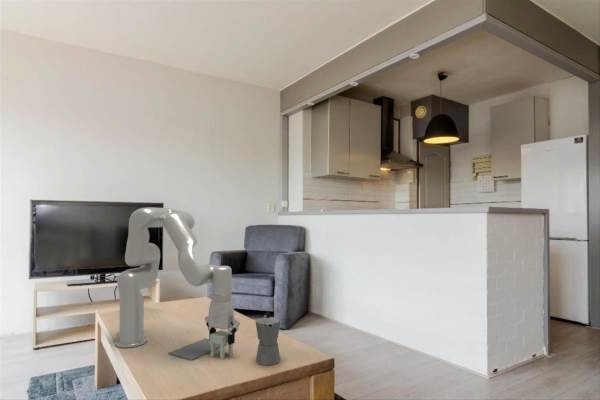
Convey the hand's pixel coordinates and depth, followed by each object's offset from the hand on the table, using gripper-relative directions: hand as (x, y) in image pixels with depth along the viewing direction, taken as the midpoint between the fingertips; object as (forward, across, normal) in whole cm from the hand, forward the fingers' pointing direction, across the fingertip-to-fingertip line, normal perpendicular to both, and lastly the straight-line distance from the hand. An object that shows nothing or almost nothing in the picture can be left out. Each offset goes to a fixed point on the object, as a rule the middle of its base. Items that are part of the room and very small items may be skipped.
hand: (221, 341), depth 147 cm
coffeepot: (+5, +18, +5) cm, 20 cm away
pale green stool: (+5, 0, 0) cm, 5 cm away
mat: (+5, -12, 0) cm, 14 cm away
